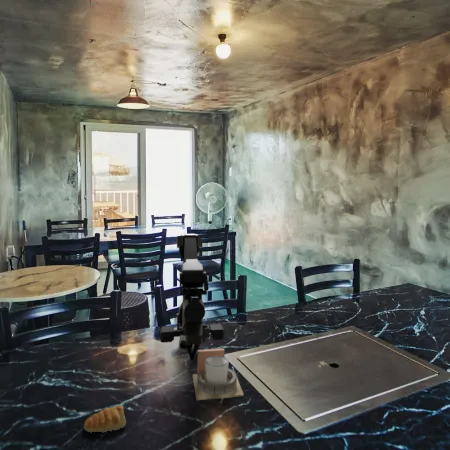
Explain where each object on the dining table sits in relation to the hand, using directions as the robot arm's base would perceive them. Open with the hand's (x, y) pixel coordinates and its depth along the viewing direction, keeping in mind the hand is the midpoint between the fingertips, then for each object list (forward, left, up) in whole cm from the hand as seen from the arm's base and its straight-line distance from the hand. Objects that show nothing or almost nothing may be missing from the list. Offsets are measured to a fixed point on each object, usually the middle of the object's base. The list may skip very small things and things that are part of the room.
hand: (192, 360), depth 114 cm
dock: (+7, -7, -5) cm, 11 cm away
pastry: (-22, -20, -5) cm, 30 cm away
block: (+6, 0, -5) cm, 8 cm away
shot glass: (+7, -7, -5) cm, 10 cm away
